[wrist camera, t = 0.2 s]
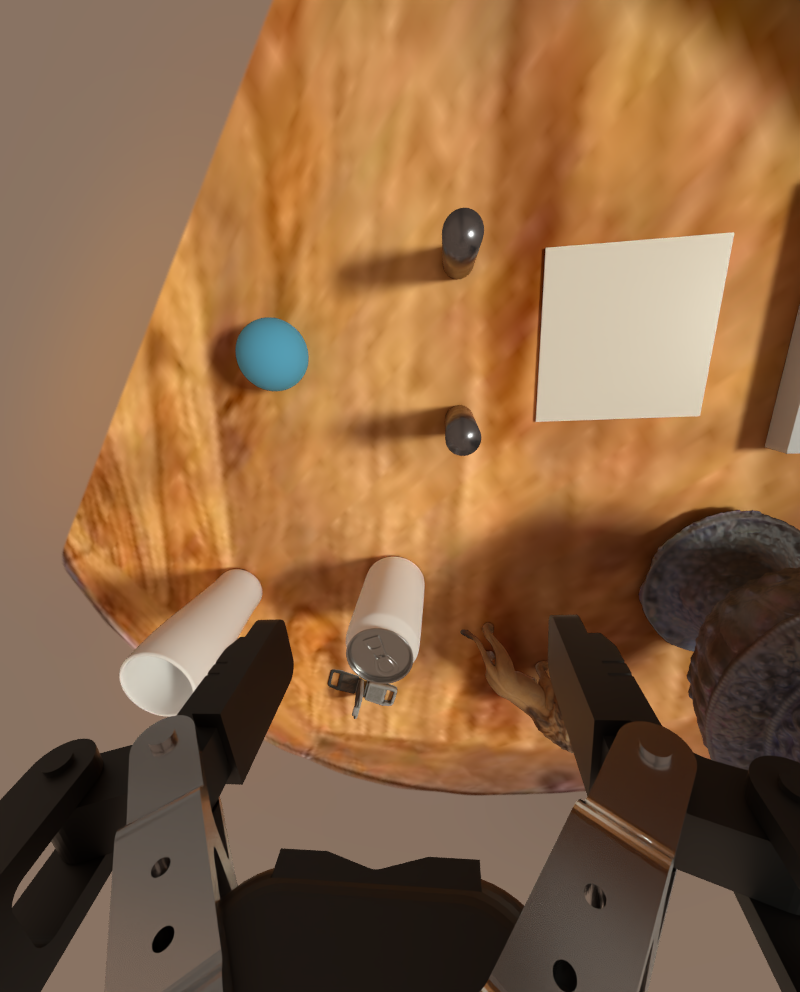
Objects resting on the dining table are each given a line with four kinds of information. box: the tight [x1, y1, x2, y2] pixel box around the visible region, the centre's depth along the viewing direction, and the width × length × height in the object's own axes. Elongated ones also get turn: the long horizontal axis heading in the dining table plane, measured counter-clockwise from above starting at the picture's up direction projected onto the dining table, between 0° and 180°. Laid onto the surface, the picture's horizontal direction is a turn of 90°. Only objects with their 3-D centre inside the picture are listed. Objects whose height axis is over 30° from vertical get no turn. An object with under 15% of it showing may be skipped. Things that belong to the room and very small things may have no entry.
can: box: [346, 557, 425, 684], centre depth 39 cm, size 6×6×12 cm
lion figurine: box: [460, 623, 574, 753], centre depth 42 cm, size 15×5×9 cm, turn 62°
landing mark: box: [536, 232, 734, 422], centre depth 34 cm, size 14×14×1 cm
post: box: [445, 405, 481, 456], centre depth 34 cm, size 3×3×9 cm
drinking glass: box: [119, 569, 262, 717], centre depth 40 cm, size 7×7×15 cm
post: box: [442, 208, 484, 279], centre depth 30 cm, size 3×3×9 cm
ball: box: [236, 318, 308, 391], centre depth 35 cm, size 6×6×6 cm
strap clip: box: [328, 669, 397, 719], centre depth 49 cm, size 8×3×4 cm, turn 76°
